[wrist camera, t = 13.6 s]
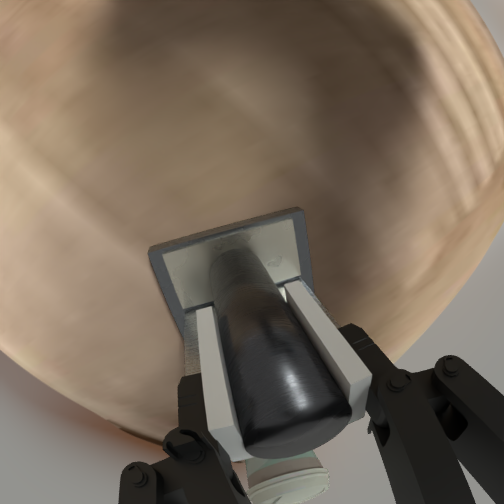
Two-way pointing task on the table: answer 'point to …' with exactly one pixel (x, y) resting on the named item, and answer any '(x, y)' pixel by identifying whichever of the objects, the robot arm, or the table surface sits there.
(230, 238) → the square frame housing
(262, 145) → the table surface
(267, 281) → the black tapered cylinder
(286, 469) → the coffee cup
